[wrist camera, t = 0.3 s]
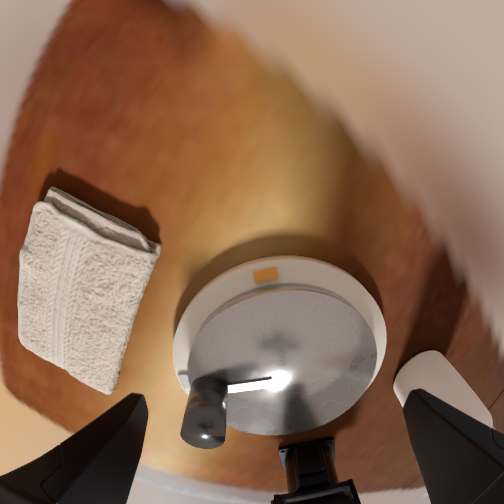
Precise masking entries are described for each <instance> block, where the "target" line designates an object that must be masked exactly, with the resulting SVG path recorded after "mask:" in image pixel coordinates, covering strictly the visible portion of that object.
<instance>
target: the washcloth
mask: <svg viewBox="0 0 504 504" xmlns="http://www.w3.org/2000/svg"><path fill="white" fill-rule="evenodd" d="M161 247H162V245H161V244H157V243H155V242H153V241H149V240H147V237H145V236H144V235H143V234H142V233H141V232H140V231H139V230H138V229H137V228H135V227H133V226H132V225H130V224H128V223H126V222H124V221H122V220H120V219H118V218H116V217H114V216H112V215H110V214H107V213H105V212H101V211H99V210H97V209H95V208H93V207H92V206H90V205H88V204H87V203H85V202H83V201H81V200H80V199H77V198H76V197H73V196H72V195H70V194H68V193H66V192H64V191H62V190H60V189H58V188H56V187H51V188H50V189H49V191H48V193H47V195H46V197H45V199H44V201H43V202H42V201H40V202H37V203H36V204H35V206H34V208H33V212H32V215H31V219H30V224H29V228H28V233H27V235H26V238H25V242H24V245H23V247H22V248H21V250H20V255H19V260H20V273H19V287H18V336H19V339H20V342H21V344H22V345H23V346H25V348H26V349H28V350H30V351H32V352H33V353H35V354H36V355H37V356H40V357H41V358H43V359H45V360H47V361H50V362H52V363H54V364H55V365H57V366H59V367H61V368H62V369H66V370H67V371H68V372H69V374H70V375H71V376H73V377H75V378H76V379H78V380H79V381H81V382H83V383H84V384H87V385H88V386H90V387H92V388H94V389H96V390H98V391H101V392H103V393H104V394H107V395H109V394H112V393H113V391H115V390H116V388H115V386H116V383H117V379H118V376H120V375H119V374H118V373H119V370H120V369H121V362H122V360H123V357H124V354H125V350H126V348H127V345H128V344H127V342H128V341H129V339H130V336H131V333H132V327H133V322H134V318H135V316H136V312H137V310H138V308H139V304H140V300H141V299H142V297H143V293H144V290H145V287H146V285H147V284H148V280H149V278H150V276H151V273H152V270H153V269H155V264H156V260H157V258H158V257H159V256H160V251H161Z"/></svg>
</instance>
